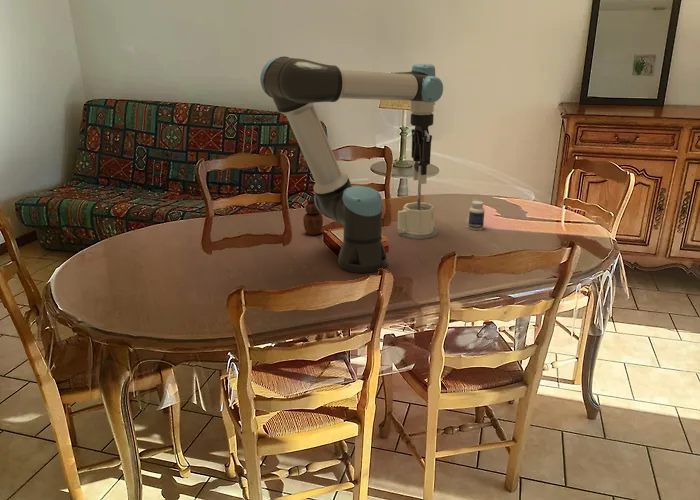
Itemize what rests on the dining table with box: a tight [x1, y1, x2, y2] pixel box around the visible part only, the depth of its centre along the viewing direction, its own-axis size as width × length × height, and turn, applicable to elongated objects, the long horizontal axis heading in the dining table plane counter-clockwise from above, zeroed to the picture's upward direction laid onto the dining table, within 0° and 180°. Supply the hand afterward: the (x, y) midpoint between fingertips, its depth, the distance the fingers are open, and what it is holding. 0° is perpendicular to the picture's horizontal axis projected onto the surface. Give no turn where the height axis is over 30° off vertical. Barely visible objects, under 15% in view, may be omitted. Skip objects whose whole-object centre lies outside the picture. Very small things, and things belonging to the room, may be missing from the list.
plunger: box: [409, 160, 428, 211], centre depth 204 cm, size 7×7×18 cm
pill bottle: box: [467, 200, 485, 231], centre depth 212 cm, size 5×5×10 cm
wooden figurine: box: [303, 193, 324, 236], centre depth 207 cm, size 7×6×15 cm
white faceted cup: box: [397, 201, 439, 240], centre depth 208 cm, size 15×14×10 cm
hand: (419, 181), depth 204 cm, fingers closed on plunger, 4 cm apart
